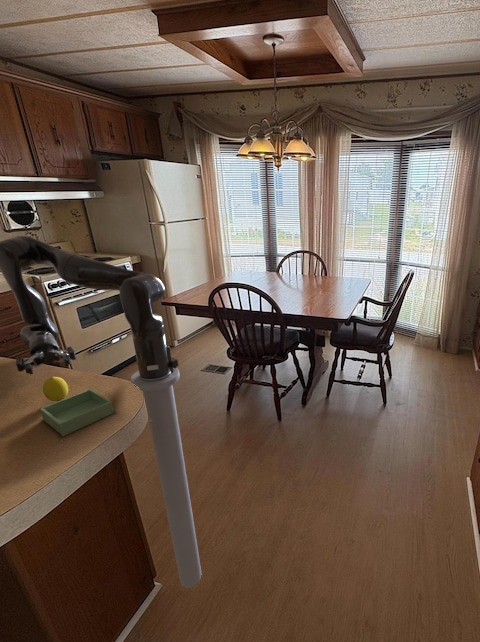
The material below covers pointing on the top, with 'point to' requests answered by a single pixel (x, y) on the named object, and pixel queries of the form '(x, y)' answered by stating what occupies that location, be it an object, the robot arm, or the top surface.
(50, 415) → the bin
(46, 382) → the lemon
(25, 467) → the top surface
